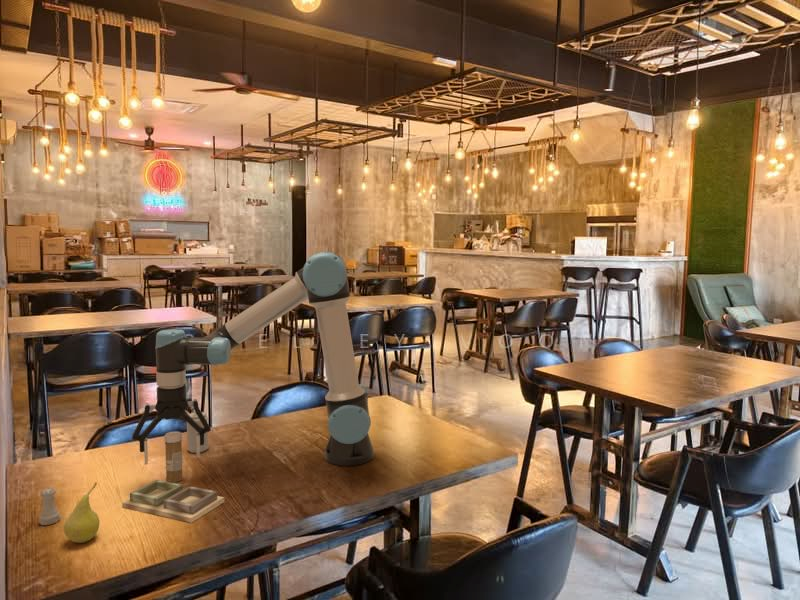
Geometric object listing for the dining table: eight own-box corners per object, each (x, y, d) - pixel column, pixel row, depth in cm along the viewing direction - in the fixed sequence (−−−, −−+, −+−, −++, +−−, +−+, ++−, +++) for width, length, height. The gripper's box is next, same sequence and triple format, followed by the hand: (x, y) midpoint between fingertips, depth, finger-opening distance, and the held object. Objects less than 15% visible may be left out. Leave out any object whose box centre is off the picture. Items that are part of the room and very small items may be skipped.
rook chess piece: (45, 517, 137) (43, 485, 136) (64, 516, 137) (62, 485, 136) (34, 526, 132) (32, 493, 131) (54, 525, 133) (52, 493, 132)
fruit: (58, 544, 124) (55, 492, 123) (87, 529, 131) (85, 479, 130) (80, 550, 122) (77, 497, 121) (109, 534, 129) (107, 483, 128)
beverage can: (211, 447, 185) (210, 411, 184) (203, 454, 178) (202, 417, 177) (193, 446, 185) (192, 411, 184) (183, 453, 179) (182, 416, 178)
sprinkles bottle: (163, 479, 159) (161, 433, 158) (179, 475, 162) (177, 429, 161) (169, 484, 156) (168, 437, 154) (186, 480, 159) (184, 433, 157)
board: (224, 501, 145) (224, 489, 145) (191, 522, 134) (191, 509, 134) (158, 488, 153) (158, 476, 153) (122, 507, 142) (121, 494, 142)
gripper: (216, 378, 165) (217, 449, 167) (122, 385, 155) (124, 460, 157) (219, 384, 158) (220, 458, 160) (120, 392, 148) (122, 470, 150)
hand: (172, 459), depth 158 cm, fingers open, 13 cm apart
